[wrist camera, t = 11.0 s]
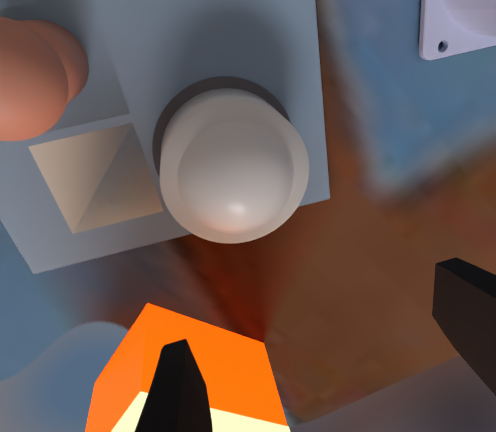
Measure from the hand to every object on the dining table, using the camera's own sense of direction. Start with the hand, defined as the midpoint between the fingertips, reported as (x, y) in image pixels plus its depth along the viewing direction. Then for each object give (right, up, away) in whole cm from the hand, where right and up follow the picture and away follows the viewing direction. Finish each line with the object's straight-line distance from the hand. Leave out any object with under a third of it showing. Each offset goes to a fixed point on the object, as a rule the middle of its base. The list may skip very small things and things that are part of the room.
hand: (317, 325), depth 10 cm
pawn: (-10, +9, +4) cm, 14 cm away
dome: (-3, +6, +7) cm, 10 cm away
